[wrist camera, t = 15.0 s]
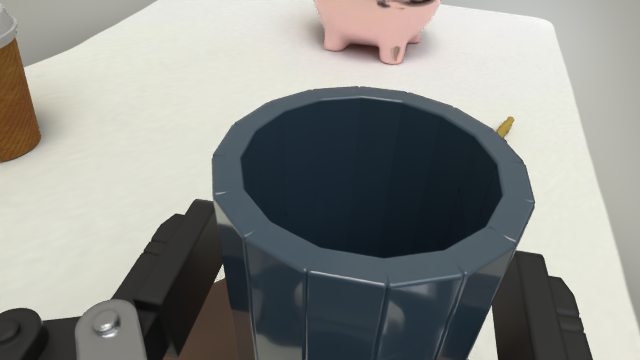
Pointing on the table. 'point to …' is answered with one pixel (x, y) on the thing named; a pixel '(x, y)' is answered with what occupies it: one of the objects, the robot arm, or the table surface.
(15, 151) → the disposable coffee cup
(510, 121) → the dagger
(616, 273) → the table surface
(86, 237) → the table surface
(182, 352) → the desk rack
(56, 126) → the table surface
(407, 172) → the pen cup
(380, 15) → the piggy bank
